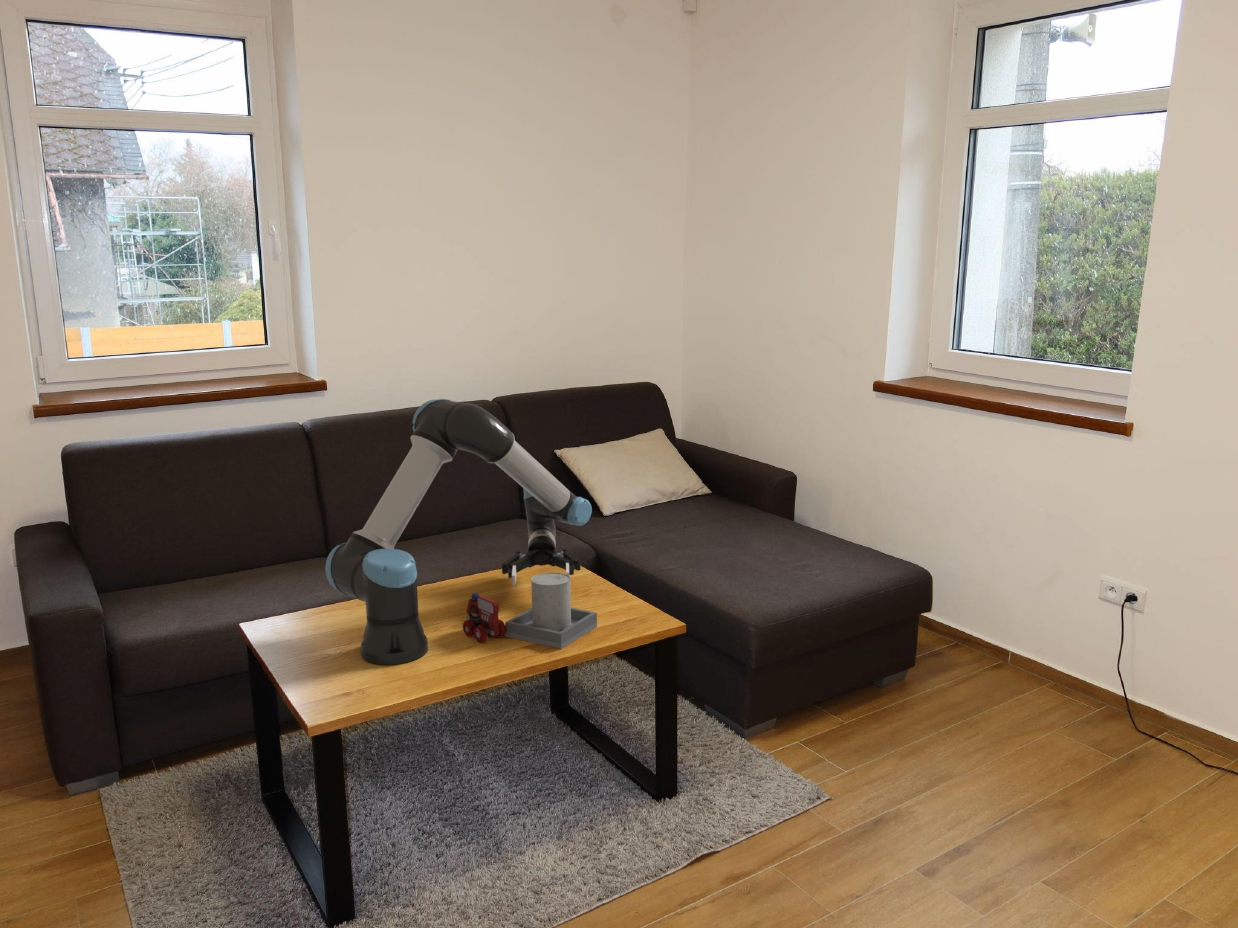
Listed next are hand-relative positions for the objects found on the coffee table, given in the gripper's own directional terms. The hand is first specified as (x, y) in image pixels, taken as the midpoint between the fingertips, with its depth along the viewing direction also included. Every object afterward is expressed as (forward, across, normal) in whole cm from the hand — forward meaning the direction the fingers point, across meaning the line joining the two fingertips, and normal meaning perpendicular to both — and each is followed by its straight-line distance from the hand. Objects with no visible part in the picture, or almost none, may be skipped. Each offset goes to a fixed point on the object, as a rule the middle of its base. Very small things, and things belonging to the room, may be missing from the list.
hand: (540, 579), depth 243 cm
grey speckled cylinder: (+10, -2, -9) cm, 13 cm away
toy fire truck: (+11, +14, -10) cm, 20 cm away
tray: (+10, -2, -10) cm, 14 cm away
